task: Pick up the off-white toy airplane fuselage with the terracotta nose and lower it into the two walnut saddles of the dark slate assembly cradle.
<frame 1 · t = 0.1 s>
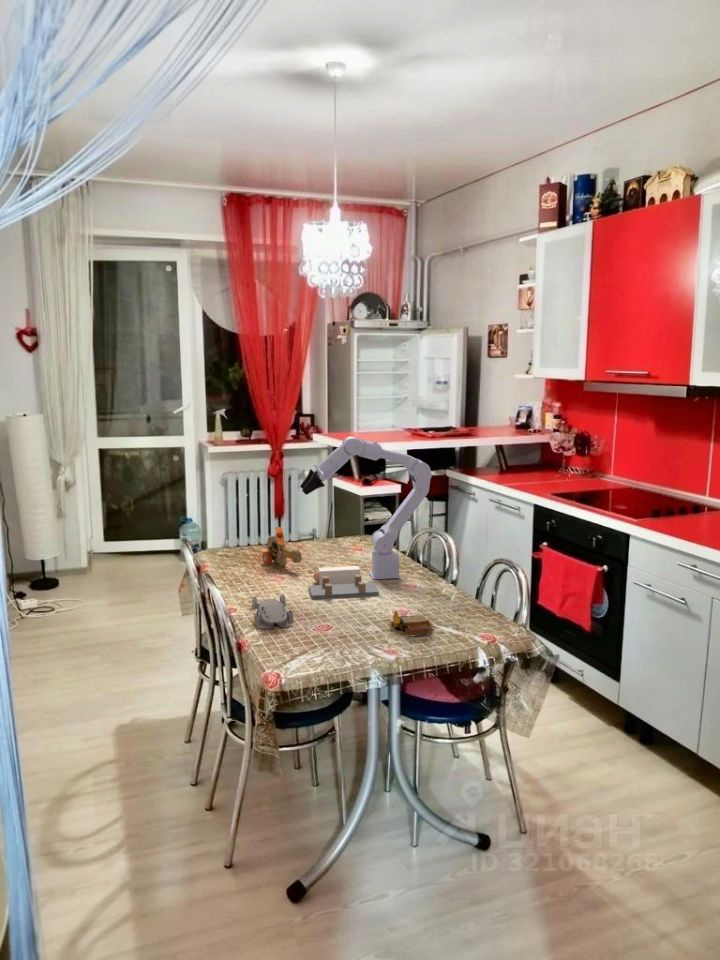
hand: (303, 490, 247), 32 cm above the table, tool tilted 50°, fingers open, 7 cm apart
fuselage: (339, 582, 250), on the table
car model: (272, 618, 218), on the table
toy sandwich meal: (412, 630, 208), on the table
cradle: (343, 592, 240), on the table
toy helicopter: (283, 566, 269), on the table
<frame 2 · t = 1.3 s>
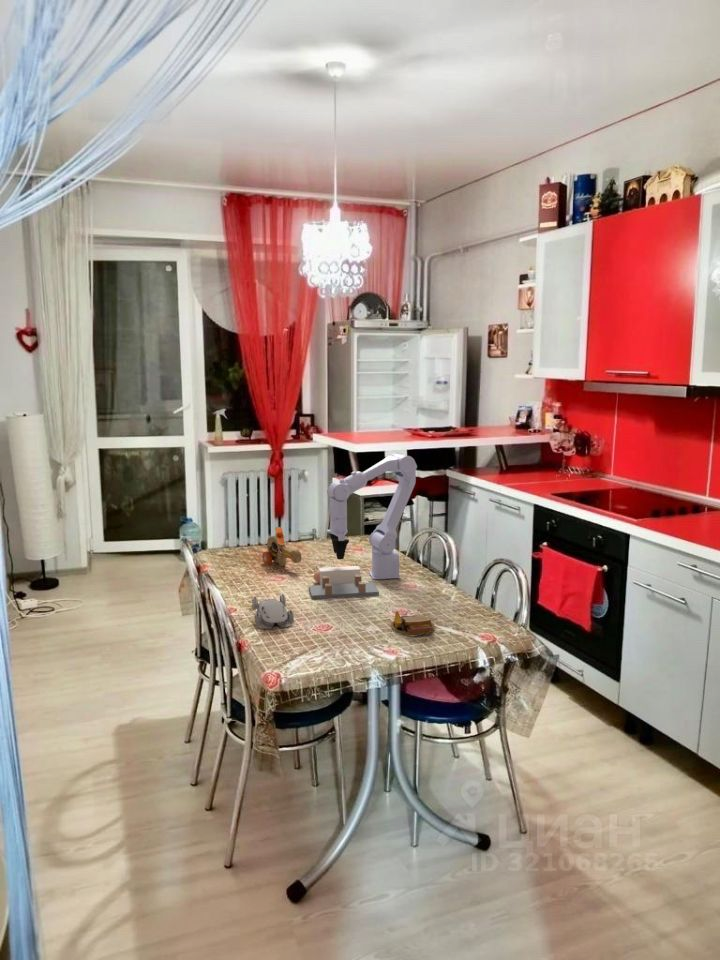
hand: (338, 555, 249), 9 cm above the table, tool pointing down, fingers open, 7 cm apart
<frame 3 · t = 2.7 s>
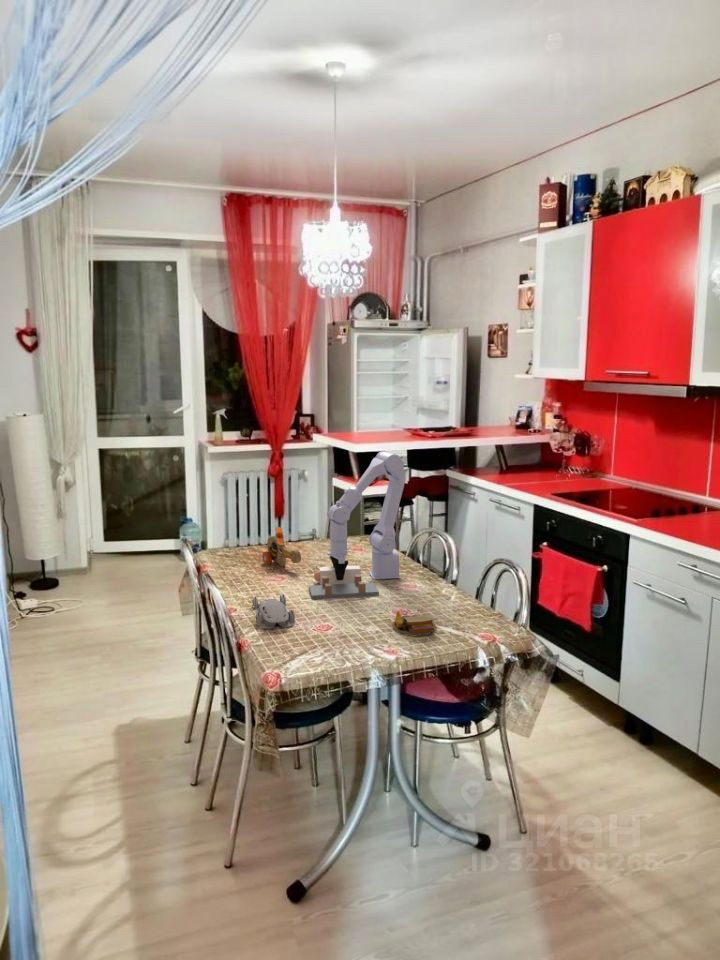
hand: (339, 577, 250), 1 cm above the table, tool pointing down, fingers closed on fuselage, 4 cm apart
fuselage: (339, 582, 250), on the table, touching gripper
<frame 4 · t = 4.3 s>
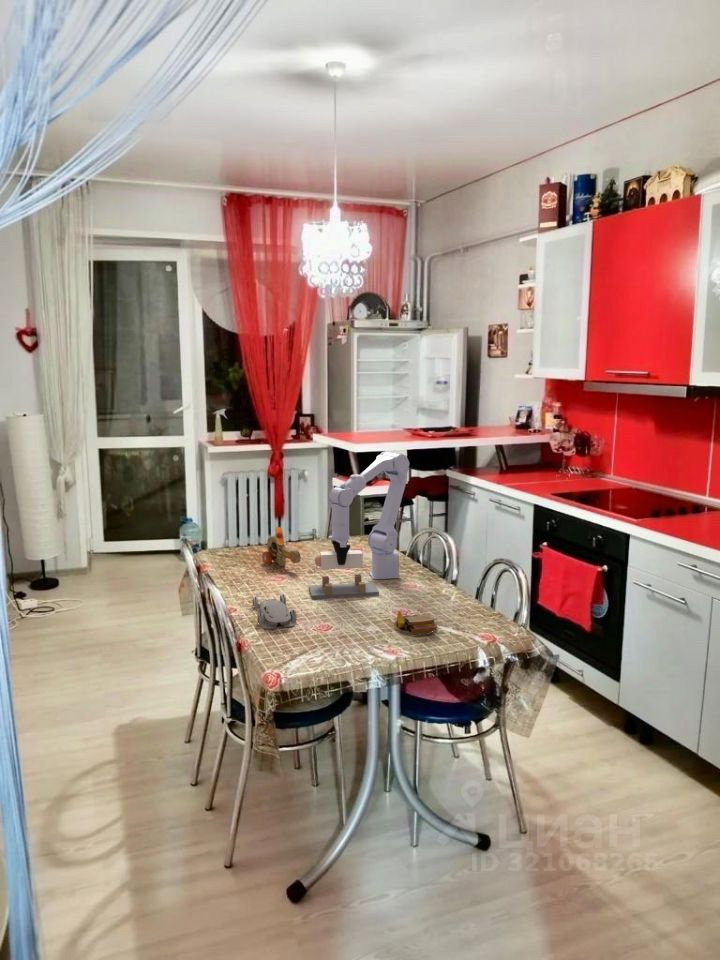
hand: (340, 562, 244), 8 cm above the table, tool pointing down, fingers closed on fuselage, 4 cm apart
fuselage: (341, 566, 244), point 7 cm above the table, touching gripper
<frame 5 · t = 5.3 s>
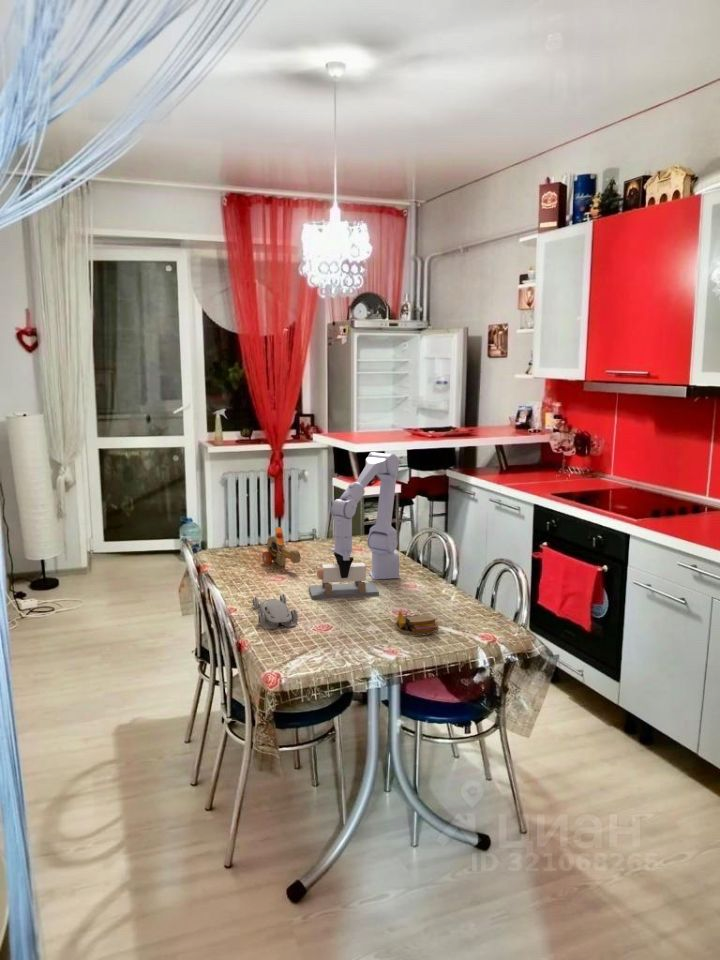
hand: (343, 575, 239), 6 cm above the table, tool pointing down, fingers closed on fuselage, 4 cm apart
fuselage: (344, 579, 239), point 4 cm above the table, touching gripper
when the fingers open (4 cm above the table, at t = 6.1 s): fuselage drops 1 cm, resting on cradle.
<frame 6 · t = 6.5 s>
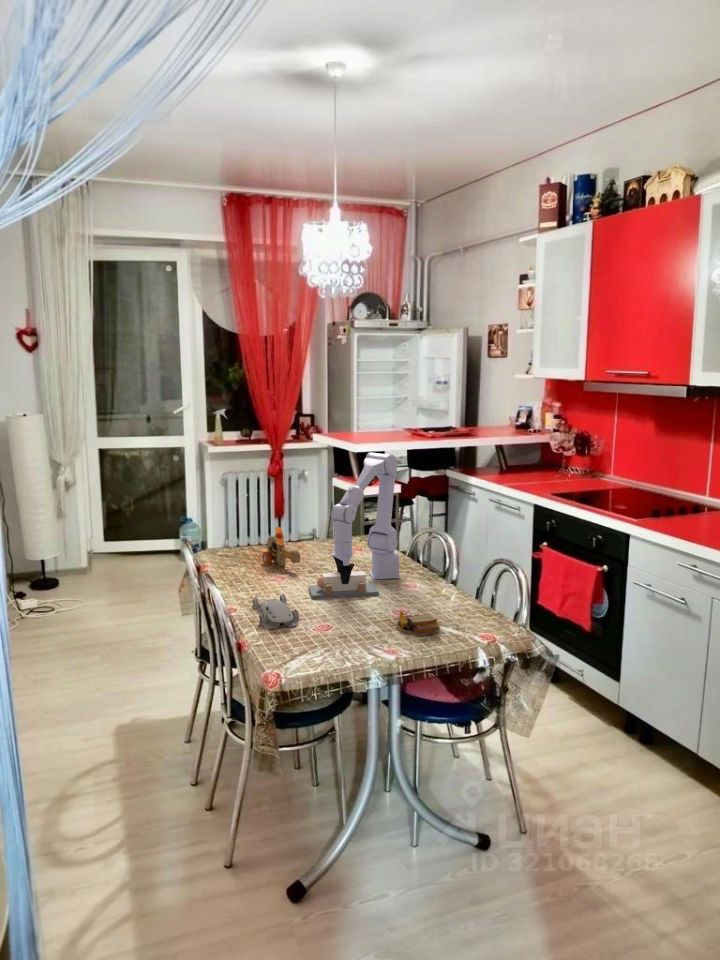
hand: (343, 580, 239), 4 cm above the table, tool pointing down, fingers open, 7 cm apart
fuselage: (344, 588, 239), point 1 cm above the table, touching cradle
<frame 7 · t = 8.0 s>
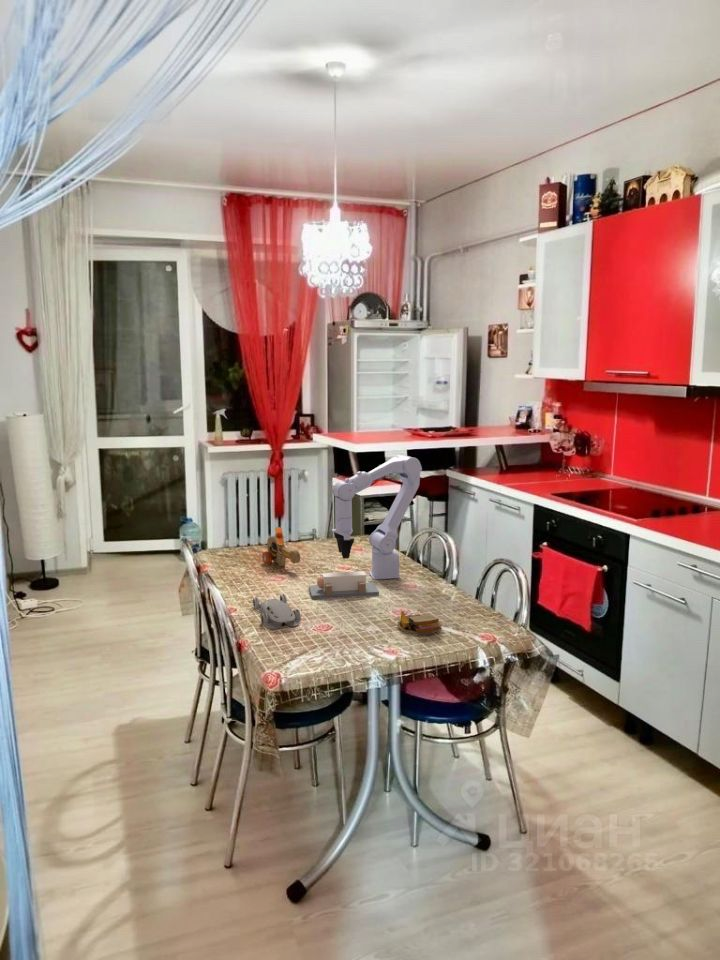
hand: (344, 555, 249), 9 cm above the table, tool pointing down, fingers open, 7 cm apart
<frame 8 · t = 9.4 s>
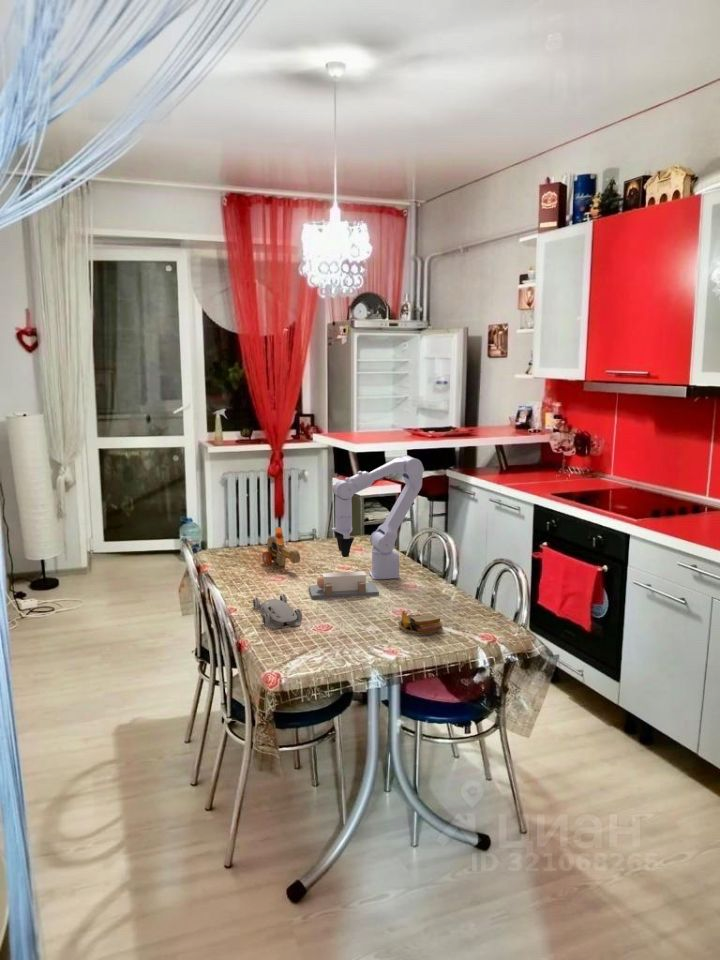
hand: (343, 553, 251), 9 cm above the table, tool pointing down, fingers open, 7 cm apart
at the end: fuselage 0.2 cm off-centre on the cradle, point 1.2 cm above the cradle's base; fuselage tilted 0°; the gripper is holding nothing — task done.
